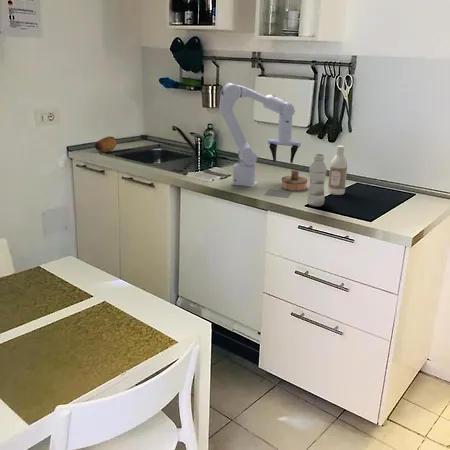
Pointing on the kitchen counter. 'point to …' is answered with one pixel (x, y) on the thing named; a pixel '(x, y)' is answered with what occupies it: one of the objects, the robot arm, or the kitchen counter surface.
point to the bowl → (294, 186)
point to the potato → (106, 144)
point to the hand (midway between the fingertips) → (283, 161)
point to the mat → (278, 193)
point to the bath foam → (338, 173)
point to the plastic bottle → (317, 181)
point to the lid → (294, 178)
